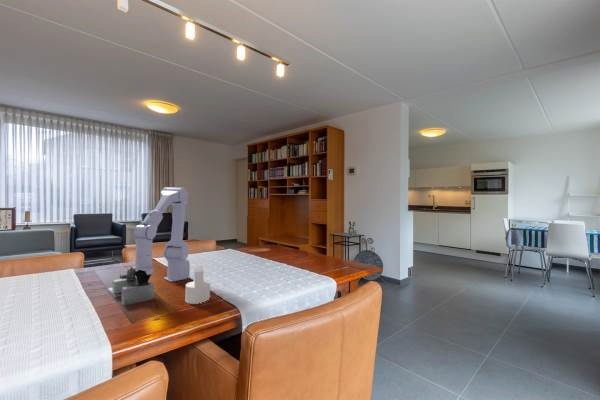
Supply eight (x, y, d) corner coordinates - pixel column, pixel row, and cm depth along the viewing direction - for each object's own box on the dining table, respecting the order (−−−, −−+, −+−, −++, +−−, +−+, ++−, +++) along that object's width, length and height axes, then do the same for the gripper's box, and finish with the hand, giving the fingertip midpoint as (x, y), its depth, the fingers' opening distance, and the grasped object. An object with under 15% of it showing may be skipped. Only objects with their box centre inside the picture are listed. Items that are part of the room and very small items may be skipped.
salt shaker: (131, 300, 103) (132, 268, 103) (117, 299, 104) (118, 267, 104) (142, 295, 109) (143, 265, 109) (129, 294, 110) (130, 264, 109)
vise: (135, 285, 120) (135, 272, 120) (153, 298, 105) (154, 283, 105) (108, 290, 113) (108, 276, 113) (123, 305, 98) (124, 289, 98)
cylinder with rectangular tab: (185, 296, 109) (186, 266, 109) (208, 294, 112) (209, 265, 112) (185, 305, 100) (186, 272, 100) (210, 302, 104) (211, 270, 104)
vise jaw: (138, 284, 117) (138, 271, 117) (142, 287, 113) (143, 274, 113) (110, 290, 110) (111, 275, 110) (114, 293, 106) (115, 278, 106)
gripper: (126, 253, 111) (125, 286, 111) (138, 259, 101) (137, 295, 101) (145, 251, 116) (144, 283, 117) (159, 256, 107) (157, 291, 107)
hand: (142, 288), depth 109 cm, fingers closed, pressing on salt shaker
